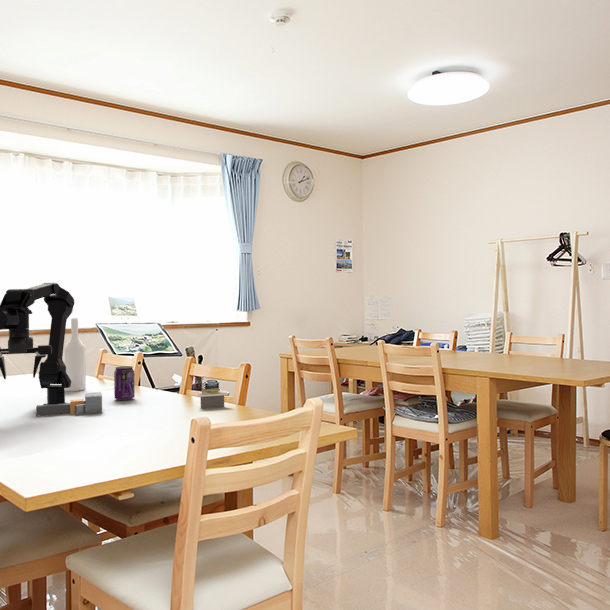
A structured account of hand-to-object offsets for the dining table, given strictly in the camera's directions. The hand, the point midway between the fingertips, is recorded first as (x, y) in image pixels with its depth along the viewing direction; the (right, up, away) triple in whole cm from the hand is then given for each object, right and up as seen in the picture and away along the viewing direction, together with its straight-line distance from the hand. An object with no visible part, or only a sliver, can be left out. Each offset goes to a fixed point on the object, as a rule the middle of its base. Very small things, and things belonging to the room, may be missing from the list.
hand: (19, 378), depth 183 cm
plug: (+11, -12, +4) cm, 17 cm away
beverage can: (+23, -12, +32) cm, 41 cm away
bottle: (-6, -13, +61) cm, 62 cm away
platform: (+59, -12, +12) cm, 61 cm away
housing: (+19, -12, +7) cm, 23 cm away
